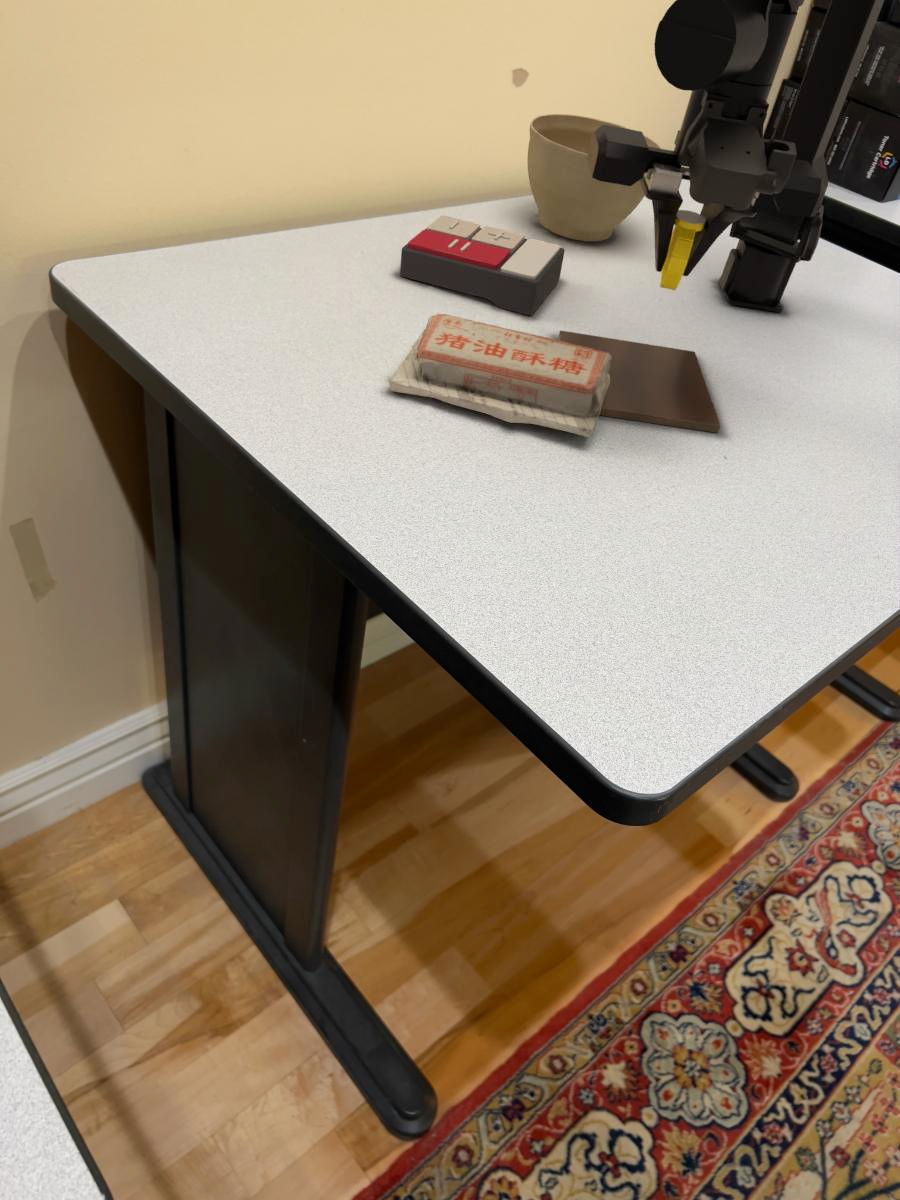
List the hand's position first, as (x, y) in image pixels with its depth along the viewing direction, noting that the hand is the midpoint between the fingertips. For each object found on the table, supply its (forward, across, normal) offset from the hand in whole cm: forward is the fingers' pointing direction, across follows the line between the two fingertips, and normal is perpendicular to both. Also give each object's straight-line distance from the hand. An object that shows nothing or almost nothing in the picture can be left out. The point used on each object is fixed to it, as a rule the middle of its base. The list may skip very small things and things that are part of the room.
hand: (671, 272), depth 79 cm
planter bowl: (+11, -4, +37) cm, 38 cm away
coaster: (+10, 0, -1) cm, 10 cm away
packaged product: (+10, -13, -7) cm, 18 cm away
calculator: (+11, -15, +17) cm, 25 cm away
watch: (+1, 0, 0) cm, 1 cm away
